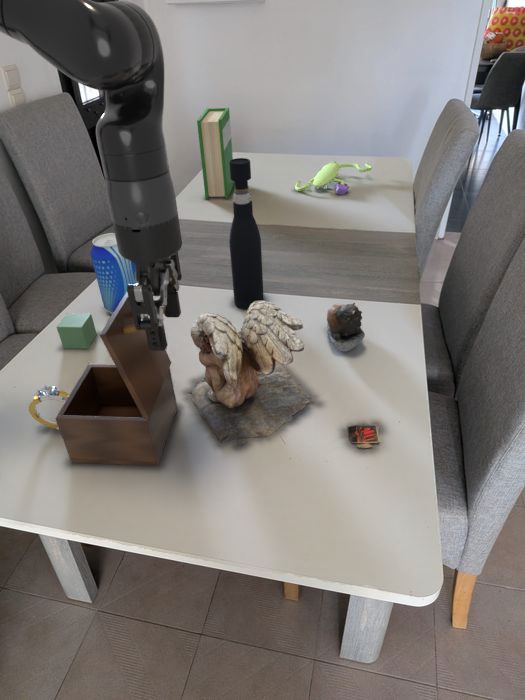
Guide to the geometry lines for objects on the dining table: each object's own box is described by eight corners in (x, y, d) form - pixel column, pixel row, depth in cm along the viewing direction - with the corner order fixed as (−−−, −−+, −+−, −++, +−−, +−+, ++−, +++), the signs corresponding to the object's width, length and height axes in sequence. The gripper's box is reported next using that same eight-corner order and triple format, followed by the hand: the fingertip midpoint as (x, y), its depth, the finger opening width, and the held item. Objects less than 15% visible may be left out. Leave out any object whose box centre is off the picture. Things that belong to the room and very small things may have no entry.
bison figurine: (321, 324, 104) (322, 279, 98) (356, 322, 104) (359, 277, 98) (330, 359, 94) (332, 312, 88) (369, 357, 94) (373, 309, 88)
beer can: (97, 310, 112) (79, 241, 103) (128, 294, 117) (113, 227, 108) (121, 322, 108) (104, 251, 98) (152, 305, 113) (138, 237, 104)
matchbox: (344, 428, 79) (344, 426, 79) (375, 422, 80) (375, 420, 80) (354, 450, 75) (354, 448, 75) (387, 444, 76) (388, 441, 76)
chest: (71, 462, 76) (54, 418, 71) (101, 405, 86) (88, 363, 81) (157, 466, 75) (147, 421, 70) (177, 407, 85) (169, 365, 80)
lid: (99, 335, 62) (140, 327, 61) (130, 285, 72) (166, 277, 71) (144, 419, 70) (181, 414, 68) (166, 363, 80) (199, 358, 79)
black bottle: (254, 312, 109) (245, 167, 91) (228, 305, 111) (215, 163, 94) (269, 298, 113) (263, 157, 96) (244, 292, 116) (234, 154, 98)
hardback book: (228, 198, 167) (221, 119, 153) (205, 199, 168) (196, 120, 154) (234, 181, 182) (228, 107, 168) (213, 182, 182) (206, 108, 168)
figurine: (377, 177, 178) (378, 161, 175) (338, 200, 161) (339, 182, 158) (331, 170, 188) (331, 154, 184) (289, 191, 171) (289, 174, 167)
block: (63, 348, 101) (56, 326, 98) (73, 334, 105) (66, 313, 102) (87, 348, 100) (81, 327, 97) (97, 334, 104) (91, 313, 101)
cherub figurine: (272, 355, 96) (269, 268, 85) (325, 412, 82) (328, 317, 72) (182, 386, 90) (167, 296, 79) (224, 453, 76) (211, 356, 66)
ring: (84, 421, 83) (71, 382, 79) (77, 435, 81) (63, 396, 76) (43, 420, 84) (28, 382, 79) (34, 434, 81) (18, 395, 77)
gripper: (131, 191, 65) (153, 304, 75) (90, 237, 54) (122, 363, 63) (189, 190, 64) (203, 304, 74) (160, 236, 53) (182, 365, 62)
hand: (166, 331), depth 68 cm, fingers open, 7 cm apart
